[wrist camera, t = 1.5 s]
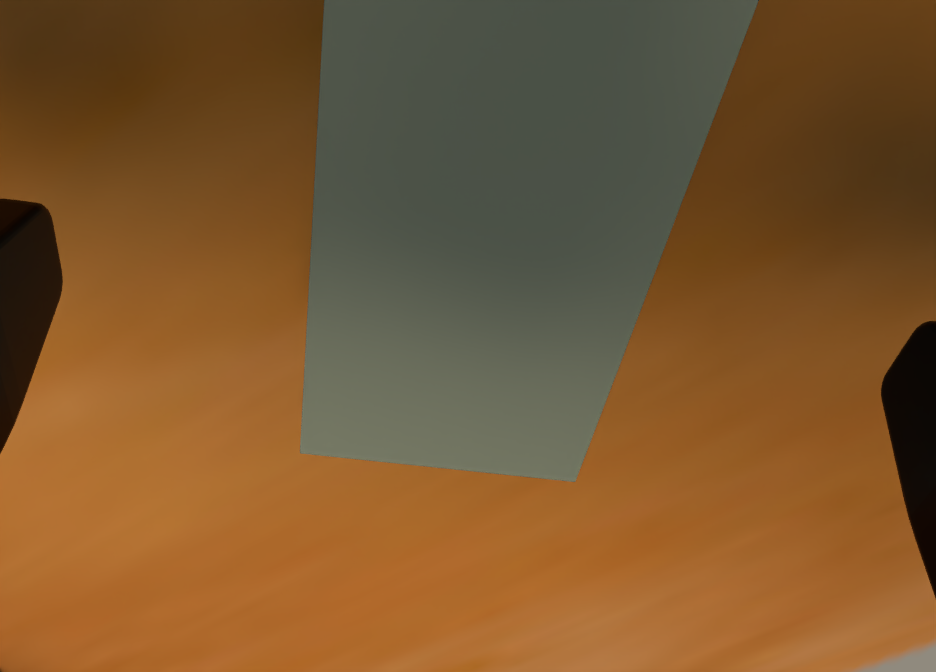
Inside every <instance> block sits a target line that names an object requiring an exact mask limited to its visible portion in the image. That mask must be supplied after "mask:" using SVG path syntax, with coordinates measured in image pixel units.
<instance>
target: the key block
mask: <svg viewBox="0 0 936 672" xmlns="http://www.w3.org/2000/svg"><path fill="white" fill-rule="evenodd" d="M758 1H759V0H324V15H323V34H322V53H321V71H320V90H319V108H318V127H317V146H316V164H315V183H314V202H313V220H312V239H311V257H310V276H309V295H308V313H307V332H306V351H305V369H304V388H303V406H302V425H301V444H300V453H302V454H312V455H321V456H331V457H341V458H350V459H360V460H369V461H379V462H389V463H398V464H408V465H418V466H427V467H437V468H446V469H456V470H466V471H475V472H485V473H494V474H504V475H514V476H523V477H533V478H543V479H552V480H562V481H571V482H575V481H576V478H577V476H578V473H579V470H580V468H581V465H582V463H583V460H584V457H585V455H586V452H587V449H588V447H589V444H590V442H591V439H592V436H593V434H594V431H595V428H596V426H597V423H598V421H599V418H600V415H601V413H602V410H603V407H604V405H605V402H606V400H607V397H608V394H609V392H610V389H611V387H612V384H613V381H614V379H615V376H616V373H617V371H618V368H619V366H620V363H621V360H622V358H623V355H624V352H625V350H626V347H627V345H628V342H629V339H630V337H631V334H632V331H633V329H634V326H635V324H636V321H637V318H638V316H639V313H640V310H641V308H642V305H643V303H644V300H645V297H646V295H647V292H648V289H649V287H650V284H651V282H652V279H653V276H654V274H655V271H656V268H657V266H658V263H659V261H660V258H661V255H662V253H663V250H664V247H665V245H666V242H667V240H668V237H669V234H670V232H671V229H672V227H673V224H674V221H675V219H676V216H677V213H678V211H679V208H680V206H681V203H682V200H683V198H684V195H685V192H686V190H687V187H688V185H689V182H690V179H691V177H692V174H693V171H694V169H695V166H696V164H697V161H698V158H699V156H700V153H701V150H702V148H703V145H704V143H705V140H706V137H707V135H708V132H709V129H710V127H711V124H712V122H713V119H714V116H715V114H716V111H717V108H718V106H719V103H720V101H721V98H722V95H723V93H724V90H725V88H726V85H727V82H728V80H729V77H730V74H731V72H732V69H733V67H734V64H735V61H736V59H737V56H738V53H739V51H740V48H741V46H742V43H743V40H744V38H745V35H746V32H747V30H748V27H749V25H750V22H751V19H752V17H753V14H754V11H755V9H756V6H757V4H758Z"/></svg>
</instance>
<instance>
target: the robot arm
mask: <svg viewBox="0 0 936 672" xmlns="http://www.w3.org/2000/svg"><path fill="white" fill-rule="evenodd" d="M62 283H63V279H62V269H61V264H60V259H59V253H58V248H57V243H56V237H55V232H54V226H53V221H52V217H51V215H50V213H49V211H48V209H47V208H46V207H45V206H43V205H42V204H40V203H34V202H27V201H19V200H12V199H0V453H1V451H2V450H3V448H4V446H5V443H6V441H7V439H8V437H9V435H10V433H11V431H12V429H13V426H14V424H15V422H16V419H17V417H18V414H19V411H20V409H21V406H22V404H23V401H24V398H25V395H26V393H27V390H28V387H29V384H30V381H31V378H32V376H33V373H34V370H35V367H36V364H37V362H38V359H39V356H40V353H41V350H42V347H43V345H44V342H45V339H46V336H47V333H48V331H49V328H50V325H51V322H52V319H53V316H54V314H55V311H56V308H57V305H58V302H59V299H60V296H61V291H62ZM881 397H882V403H883V407H884V412H885V416H886V421H887V425H888V430H889V434H890V439H891V443H892V448H893V452H894V456H895V461H896V465H897V470H898V474H899V479H900V483H901V488H902V492H903V497H904V501H905V505H906V509H907V513H908V517H909V520H910V523H911V527H912V530H913V533H914V536H915V539H916V542H917V545H918V548H919V551H920V554H921V557H922V560H923V563H924V566H925V569H926V572H927V575H928V577H929V580H930V583H931V586H932V589H933V592H934V595H935V598H936V321H929V322H925V323H923V324H921V325H920V326H919V327H917V328H916V329H915V331H914V332H913V333H912V335H911V336H910V338H909V339H908V341H907V342H906V344H905V345H904V347H903V348H902V350H901V351H900V353H899V355H898V356H897V358H896V359H895V361H894V362H893V364H892V365H891V367H890V368H889V370H888V371H887V373H886V375H885V376H884V379H883V382H882V388H881Z"/></svg>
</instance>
